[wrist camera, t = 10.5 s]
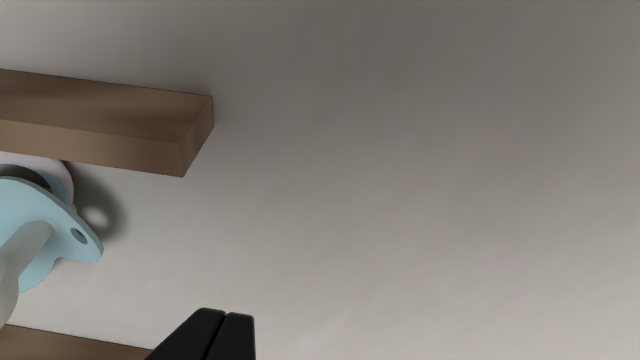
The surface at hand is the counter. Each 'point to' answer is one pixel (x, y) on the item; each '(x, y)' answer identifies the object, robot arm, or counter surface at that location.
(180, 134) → the walnut bay
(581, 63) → the counter surface
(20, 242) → the pacifier
